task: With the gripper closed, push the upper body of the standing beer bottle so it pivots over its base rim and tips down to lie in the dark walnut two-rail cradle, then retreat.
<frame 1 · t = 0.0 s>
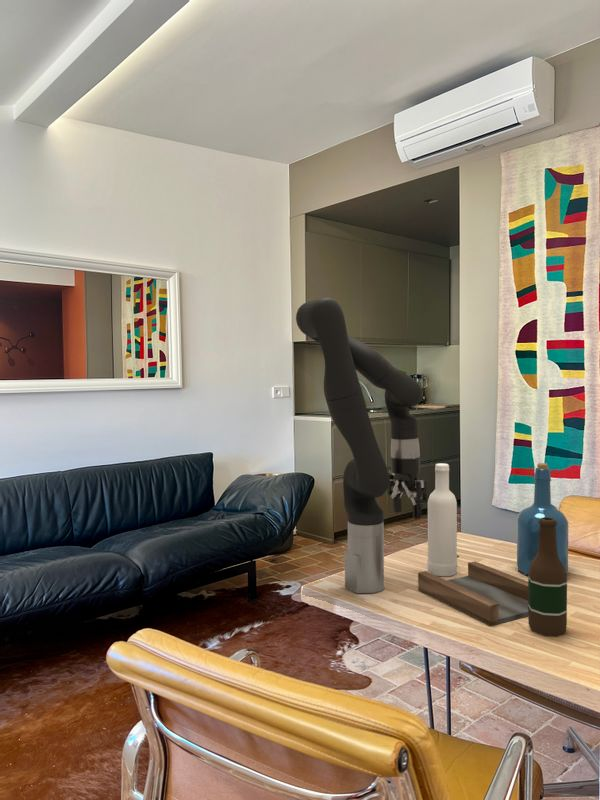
hand: (407, 515, 163), 17 cm above the table, tool pointing down, fingers open, 8 cm apart
compact mirror: (444, 556, 185), on the table
beer bottle: (547, 630, 131), on the table
bottle: (442, 572, 169), on the table
cradle: (481, 599, 148), on the table
wine bottle: (542, 572, 168), on the table
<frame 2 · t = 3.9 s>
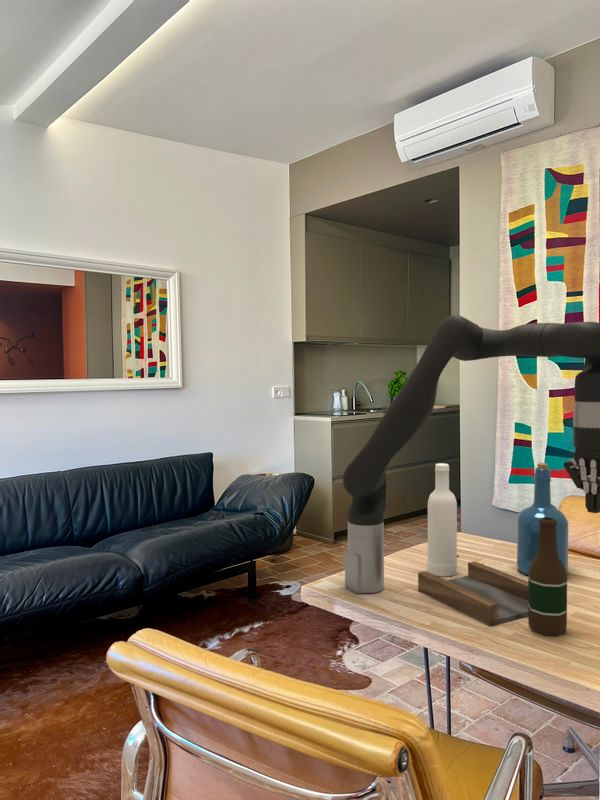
hand: (594, 512, 120), 27 cm above the table, tool pointing down, fingers closed
nothing on the table moved.
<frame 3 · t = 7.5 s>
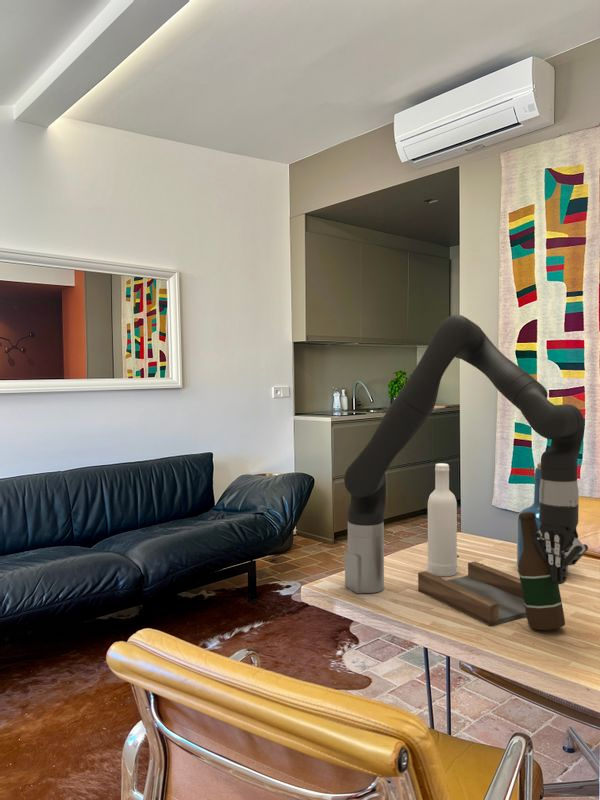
hand: (558, 582, 128), 11 cm above the table, tool pointing down, fingers closed
beer bottle: (546, 626, 131), point 1 cm above the table, touching gripper
everything else where it was.
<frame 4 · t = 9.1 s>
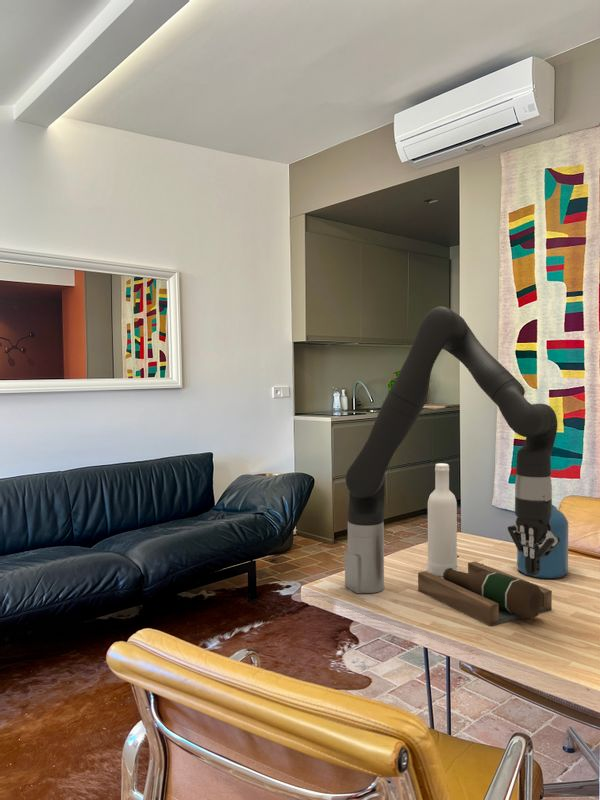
hand: (532, 573, 134), 11 cm above the table, tool pointing down, fingers closed
beer bottle: (535, 602, 134), point 5 cm above the table, touching cradle
everything else where it was.
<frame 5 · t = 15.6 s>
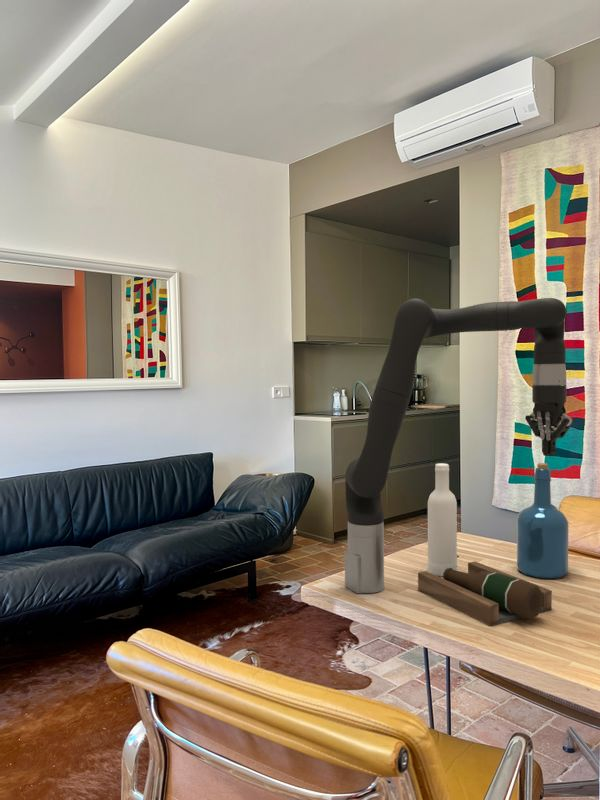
hand: (548, 455, 146), 35 cm above the table, tool pointing down, fingers closed
nothing on the table moved.
at the end: beer bottle tilted 90°; beer bottle inside the target area (12.6 cm from its centre), point 4.6 cm above the table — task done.
